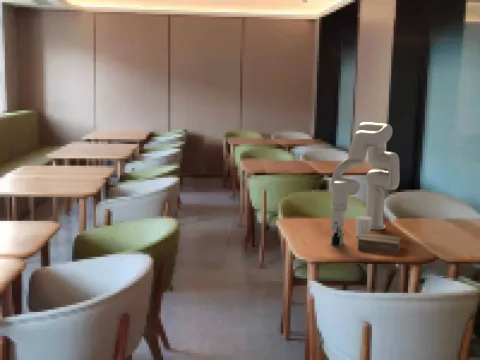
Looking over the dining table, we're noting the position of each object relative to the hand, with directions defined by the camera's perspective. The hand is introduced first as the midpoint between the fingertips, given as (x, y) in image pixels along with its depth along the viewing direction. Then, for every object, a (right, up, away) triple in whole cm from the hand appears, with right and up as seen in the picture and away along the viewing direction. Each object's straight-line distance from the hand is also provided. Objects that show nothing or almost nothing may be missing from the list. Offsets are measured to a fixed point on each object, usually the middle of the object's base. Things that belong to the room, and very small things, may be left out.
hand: (337, 242), depth 280 cm
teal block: (0, -1, 0) cm, 1 cm away
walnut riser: (+19, -2, -5) cm, 20 cm away
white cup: (+15, +1, +14) cm, 21 cm away
